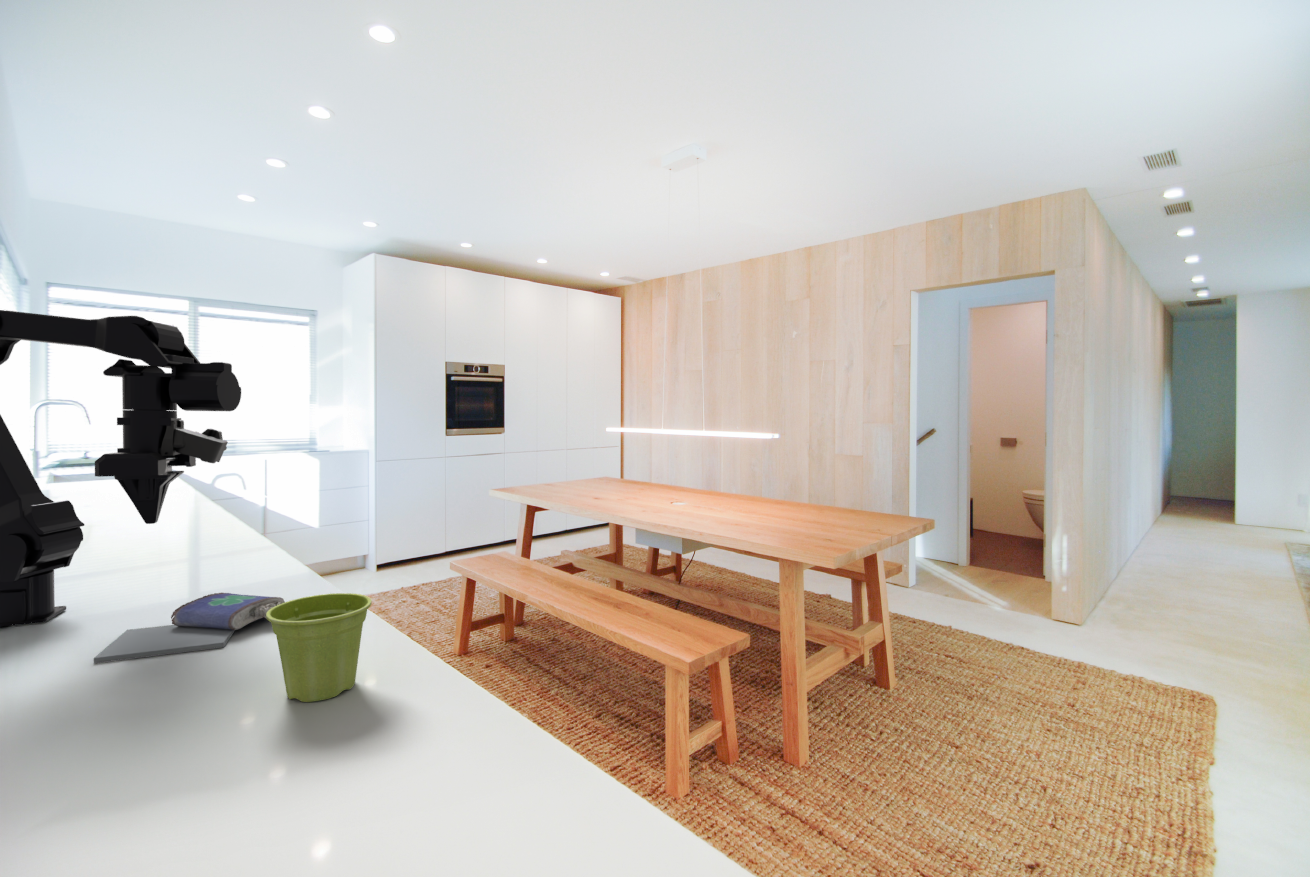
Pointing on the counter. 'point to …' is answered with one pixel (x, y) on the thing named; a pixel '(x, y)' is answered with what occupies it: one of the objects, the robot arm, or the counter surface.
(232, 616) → the flask
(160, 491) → the robot arm
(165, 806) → the counter surface
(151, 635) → the serving mat
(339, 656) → the plant pot
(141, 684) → the counter surface
